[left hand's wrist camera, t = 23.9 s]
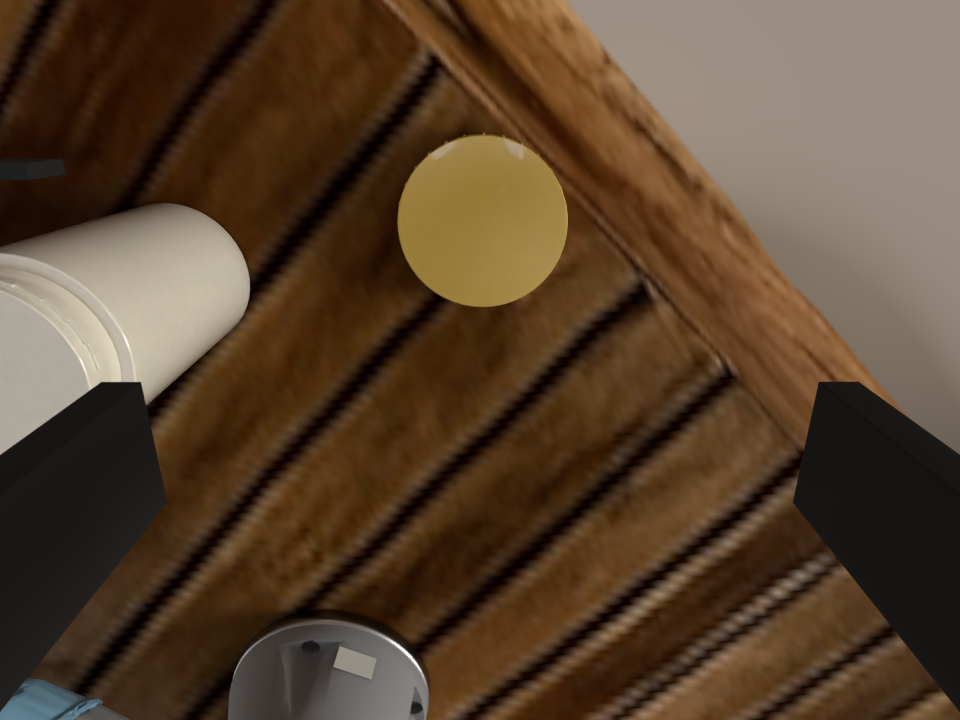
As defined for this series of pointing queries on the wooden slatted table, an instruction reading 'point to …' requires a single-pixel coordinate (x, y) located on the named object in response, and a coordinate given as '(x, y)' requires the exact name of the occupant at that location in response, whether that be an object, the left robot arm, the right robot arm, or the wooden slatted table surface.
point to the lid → (482, 220)
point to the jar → (112, 308)
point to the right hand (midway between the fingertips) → (78, 306)
